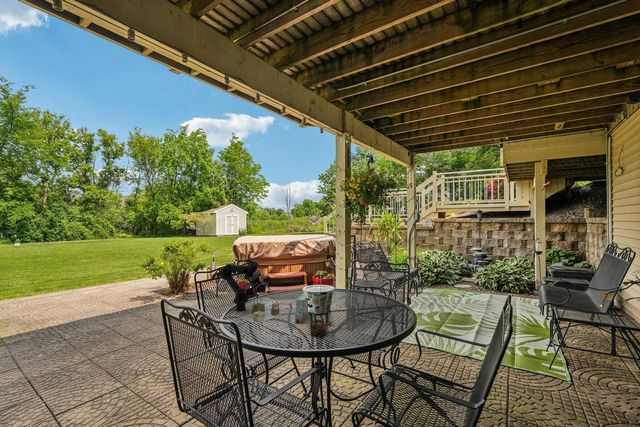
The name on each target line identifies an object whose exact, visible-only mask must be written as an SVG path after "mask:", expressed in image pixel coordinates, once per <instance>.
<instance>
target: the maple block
mask: <svg viewBox="0 0 640 427" xmlns="http://www.w3.org/2000/svg"><path fill="white" fill-rule="evenodd" d="M264 320H265V312H261V311H258V312H255V313H253V321H255V322H258V324H260V323H263V322H265V321H264ZM262 321H263V322H262ZM259 322H260V323H259Z"/></svg>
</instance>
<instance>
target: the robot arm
mask: <svg viewBox="0 0 640 427" xmlns="http://www.w3.org/2000/svg"><path fill="white" fill-rule="evenodd" d="M258 268H259V263H258V262H256V261H254V260H250V261H249V264H247V265H246V264H245V265H239V264H236V263H227V264H225V266H224V267H222V268H221V269H220V270H219V273H218V275H219V277H220V278H221V280H224V281H226V282H227V284H228V285H229V287H231V289H232V290H233V292H234V293H235V294H234V299H233V304H235V310H236V312H245V311H246V303H248V301H249V297H250V296H253V297H256V298H259V295H258V294H257V293H256V292H255V291H254V289H255V288H258V287H259V286H261V285H263V284H265V287H266V288H267V289H268V290H270V291H271V286H270V283H271V276H270V275H269V274H267V275H264V276H263V277H262V280H261V278H260V277H261V276H262V273H261V272H260V271H258ZM233 272H237V273H238V274H239V275H244V277H243V280H247V281H248V282H249V284H250V285H247V286H246V287H243V288H241V287H240V285H239V284H238V283H237V281H236V280H235V278H234V277H233Z"/></svg>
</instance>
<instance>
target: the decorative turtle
mask: <svg viewBox="0 0 640 427" xmlns="http://www.w3.org/2000/svg"><path fill="white" fill-rule="evenodd" d="M327 327H328V326H327V323H326V322H325V321H323V319H318V318H317V319H314V320H312V321H311V322H310V324H309V329H310V331H311V332H312V333H311V334H312V335H313V336H314V337H315V336H317V335H318V334H320V335H321V336H324V335H325V333H326V330H327Z"/></svg>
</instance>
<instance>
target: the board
mask: <svg viewBox="0 0 640 427" xmlns="http://www.w3.org/2000/svg"><path fill="white" fill-rule="evenodd" d="M280 315H282V313H279V315H276V316H274V315H271V310H266V309H265V320H264V321H262V322H259V323H258V322H255V321H253V314H252V312H251V313H249V314H245V315H242V316H239V317H238V318H239V319H241V320H245V321H247V322H252V323H254V324H260V323H263V322H265V321H268V320H271V319H273V318H275V317H278V316H280Z"/></svg>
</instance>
